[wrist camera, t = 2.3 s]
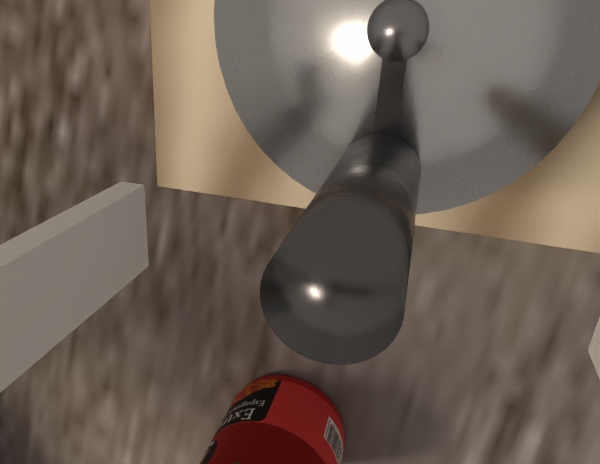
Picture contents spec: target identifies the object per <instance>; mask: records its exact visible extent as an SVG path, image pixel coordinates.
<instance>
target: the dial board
mask: <svg viewBox="0 0 600 464" xmlns="http://www.w3.org/2000/svg"><path fill="white" fill-rule="evenodd" d="M214 2H215V0H150V20H151V44H152V68H153V93H154V117H155V141H156V165H157V186H161V187H167V188H174V189H180V190H187V191H193V192H200V193H207V194H213V195H220V196H226V197H233V198H239V199H246V200H253V201H259V202H266V203H272V204H279V205H285V206H292V207H299V208H305V209H306V208H307V206H308V205H309V204H310V202H311V201H312V199H313V198H314V196H315V195H316V193H314V192H312V191H310V190H309V189H307V188H306V187H304V186H303V185H301V184H299V183H298V182H296V181H295V180H293V179H292V178H291V177H290V176H288V175H287V174H286V173H285V172H284V171H282V170H281V169H280V168H279V167H278V166H276V165H275V164H274V162H273V161H272V160H271V159H270V158H269V157H268V156H267V155H266V154H265V153H264V152H263V151H262V150H261V149H260V147H259V146H258V145H257V143H256V142H255V140H254V139H253V138H252V136H251V135H250V134H249V132H248V131H247V129H246V128H245V126H244V124H243V122H242V121H241V119H240V117H239V115H238V114H237V112H236V110H235V108H234V105H233V103H232V101H231V98H230V96H229V94H228V91H227V89H226V86H225V82H224V79H223V75H222V72H221V68H220V65H219V60H218V54H217V48H216V42H215V28H214ZM415 225H417V226H423V227H430V228H437V229H443V230H450V231H456V232H463V233H469V234H476V235H483V236H489V237H496V238H502V239H509V240H515V241H522V242H529V243H535V244H542V245H548V246H555V247H562V248H568V249H575V250H581V251H588V252H594V253H600V82H599V84H598V86H597V88H596V90H595V92H594V94H593V96H592V98H591V100H590V102H589V103H588V105H587V106H586V108H585V109H584V111H583V112H582V114H581V115H580V117H579V118H578V120H577V121H576V123H575V124H574V126H573V127H572V128H571V129H570V131H569V132H568V133H567V134H566V135H565V136H564V138H563V139H562V140H561V141H560V142H559V143H558V145H557V146H556V147H555V148H554V149H553V150H552V151H551V152H550V153H549V154H547V155H546V156H545V157H544V158H543V159H542V160H541V161H540V162H539V163H538V164H537V165H536V166H534V167H533V168H532V169H530V170H529V171H527V172H526V173H525V174H523V175H522V176H520V177H519V178H518V179H516V180H515V181H514V182H512V183H510V184H508V185H507V186H505V187H503V188H501V189H499V190H498V191H496V192H494V193H492V194H490V195H488V196H485V197H483V198H481V199H478V200H476V201H473V202H471V203H469V204H465V205H462V206H458V207H455V208H451V209H448V210H444V211H438V212H431V213H425V214H416V218H415Z"/></svg>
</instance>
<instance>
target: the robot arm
mask: <svg viewBox="0 0 600 464" xmlns="http://www.w3.org/2000/svg"><path fill="white" fill-rule="evenodd" d="M148 266H149V261H148V243H147V225H146V206H145V188H144V185H142V184H136V183H129V182H123V181H121V182H119V183H117V184H115V185H113V186H112V187H110V188H108V189H106V190H104V191H102V192H100V193H98V194H96V195H94V196H92V197H90V198H89V199H87V200H85V201H83V202H81V203H79V204H77V205H75V206H73V207H71V208H69V209H68V210H66V211H64V212H62V213H60V214H58V215H56V216H54V217H52V218H50V219H48V220H47V221H45V222H43V223H41V224H39V225H37V226H35V227H33V228H31V229H29V230H27V231H26V232H24V233H22V234H20V235H18V236H16V237H14V238H12V239H10V240H8V241H6V242H4V243H3V244H1V245H0V393H1V392H2V391H3V390H4V389H5V388H7V387H8V386H9V385H10V384H11V383H12V382H14V381H15V380H16V379H17V378H18V377H19V376H21V375H22V374H23V373H24V372H25V371H27V370H28V369H29V368H30V367H31V366H32V365H34V364H35V363H36V362H37V361H38V360H39V359H41V358H42V357H43V356H44V355H45V354H46V353H48V352H49V351H50V350H51V349H52V348H53V347H55V346H56V345H57V344H58V343H59V342H60V341H62V340H63V339H64V338H65V337H66V336H67V335H69V334H70V333H71V332H72V331H73V330H75V329H76V328H77V327H78V326H79V325H80V324H82V323H83V322H84V321H85V320H86V319H87V318H89V317H90V316H91V315H92V314H93V313H94V312H96V311H97V310H98V309H99V308H100V307H101V306H103V305H104V304H105V303H106V302H107V301H108V300H110V299H111V298H112V297H113V296H114V295H116V294H117V293H118V292H119V291H120V290H121V289H123V288H124V287H125V286H126V285H127V284H128V283H130V282H131V281H132V280H133V279H134V278H135V277H137V276H138V275H139V274H140V273H141V272H142V271H144V270H145V269H146V268H147V267H148ZM588 352H589V355H590V357H591V360H592V362H593V364H594V367H595V369H596V372H597V374H598V377H599V379H600V317H599V320H598V322H597V325H596V328H595V331H594V334H593V337H592V340H591V342H590V345H589V348H588Z"/></svg>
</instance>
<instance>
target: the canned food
mask: <svg viewBox="0 0 600 464" xmlns="http://www.w3.org/2000/svg"><path fill="white" fill-rule="evenodd" d="M344 445H345V435H344V428H343V422H342V419H341V416H340V413H339V412H338V410H337V408H336V407H335V405H334V404H333V402H332V401H331V400H330V399H329V398H328V397H327V396H326V395H325V394H324V393H323V392H322V391H321V390H319V389H318V388H316V387H315V386H313V385H311V384H310V383H308V382H305V381H303V380H301V379H298V378H294V377H291V376H285V375H269V376H265V377H261V378H258V379H256V380H254V381H253V382H251V383H250V384H248V385H247V386H246V387H245V388H243V389H242V390H241V391H240V392H239V393H238V394H237V396H236V398H235V399H234V401H233V403H232V405H231V406H230V408H229V410H228V412H227V414H226V416H225V417H224V419H223V421H222V423H221V425H220V427H219V428H218V430H217V432H216V434H215V436H214V438H213V440H212V441H211V443H210V445H209V447H208V449H207V451H206V452H205V454H204V456H203V458H202V460H201V462H200V464H341V460H342V456H343V451H344Z"/></svg>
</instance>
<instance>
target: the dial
mask: <svg viewBox="0 0 600 464" xmlns="http://www.w3.org/2000/svg"><path fill="white" fill-rule="evenodd" d="M214 28H215V42H216V48H217V54H218V60H219V65H220V68H221V72H222V75H223V79H224V82H225V86H226V89H227V91H228V94H229V96H230V98H231V101H232V103H233V105H234V108H235V110H236V112H237V114H238V115H239V117H240V119H241V121H242V122H243V124H244V126H245V128H246V129H247V131H248V132H249V134H250V135H251V136H252V138H253V139H254V140H255V142H256V143H257V145H258V146H259V147H260V149H261V150H262V151H263V152H264V153H265V154H266V155H267V156H268V157H269V158H270V159H271V160H272V161H273V162H274V164H275V165H276V166H278V167H279V168H280V169H281V170H282V171H284V172H285V173H286V174H287V175H288V176H290V177H291V178H292V179H293V180H295V181H296V182H298V183H299V184H301V185H303V186H304V187H306V188H307V189H309V190H310V191H312V192H314V193H316V195H315V196H314V198H313V199H312V201H311V202H310V204H309V205H308V206H307V208H306V209H305V211H304V212H303V214H302V215H301V217H300V218H299V220H298V221H297V222H296V224H295V225H294V227H293V228H292V230H291V231H290V233H289V234H288V236H287V237H286V238H285V240H284V241H283V243H282V244H281V246H280V247H279V249H278V250H277V252H276V253H275V254H274V256H273V257H272V259H271V260H270V262H269V263H268V265H267V267H266V269H265V271H264V273H263V276H262V280H261V286H260V300H261V306H262V309H263V313H264V315H265V318H266V320H267V322H268V324H269V325H270V327H271V329H272V330H273V331H274V333H275V334H276V335H277V336H278V337H279V338H280V339H281V340H282V341H283V342H284V343H285V344H286V345H287V346H288V347H290V348H291V349H292V350H294V351H296V352H297V353H299V354H301V355H303V356H305V357H307V358H309V359H312V360H315V361H318V362H322V363H327V364H338V365H344V364H353V363H358V362H362V361H365V360H368V359H370V358H372V357H374V356H376V355H378V354H379V353H381V352H382V351H383V350H384V349H386V348H387V347H388V346H389V345H390V344H391V342H392V341H393V340H394V339H395V337H396V336H397V334H398V332H399V330H400V327H401V325H402V321H403V317H404V310H405V301H406V293H407V285H408V276H409V268H410V260H411V252H412V243H413V235H414V227H415V218H416V214H425V213H431V212H438V211H444V210H448V209H451V208H455V207H458V206H462V205H465V204H469V203H471V202H473V201H476V200H478V199H481V198H483V197H485V196H488V195H490V194H492V193H494V192H496V191H498V190H499V189H501V188H503V187H505V186H507V185H508V184H510V183H512V182H514V181H515V180H516V179H518V178H519V177H520V176H522V175H523V174H525V173H526V172H527V171H529V170H530V169H532V168H533V167H534V166H536V165H537V164H538V163H539V162H540V161H541V160H542V159H543V158H544V157H545V156H546V155H547V154H549V153H550V152H551V151H552V150H553V149H554V148H555V147H556V146H557V145H558V143H559V142H560V141H561V140H562V139H563V138H564V136H565V135H566V134H567V133H568V132H569V131H570V129H571V128H572V127H573V126H574V124H575V123H576V121H577V120H578V118H579V117H580V115H581V114H582V112H583V111H584V109H585V108H586V106H587V105H588V103H589V102H590V100H591V98H592V96H593V94H594V92H595V90H596V88H597V86H598V84H599V82H600V0H215V2H214Z"/></svg>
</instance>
